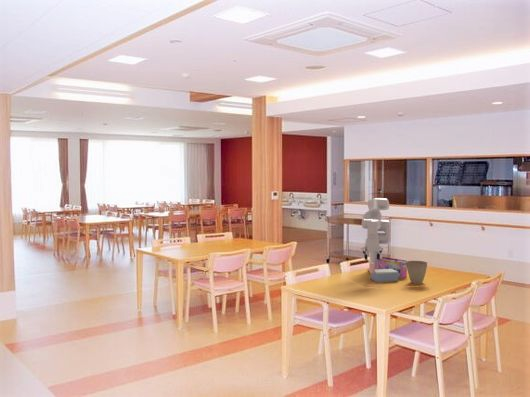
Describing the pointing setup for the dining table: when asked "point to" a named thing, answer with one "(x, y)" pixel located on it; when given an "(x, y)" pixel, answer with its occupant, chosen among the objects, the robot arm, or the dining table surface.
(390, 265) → the gum box
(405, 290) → the dining table surface
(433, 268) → the dining table surface
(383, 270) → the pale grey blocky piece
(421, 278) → the plant pot
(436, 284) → the dining table surface
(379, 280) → the tub
